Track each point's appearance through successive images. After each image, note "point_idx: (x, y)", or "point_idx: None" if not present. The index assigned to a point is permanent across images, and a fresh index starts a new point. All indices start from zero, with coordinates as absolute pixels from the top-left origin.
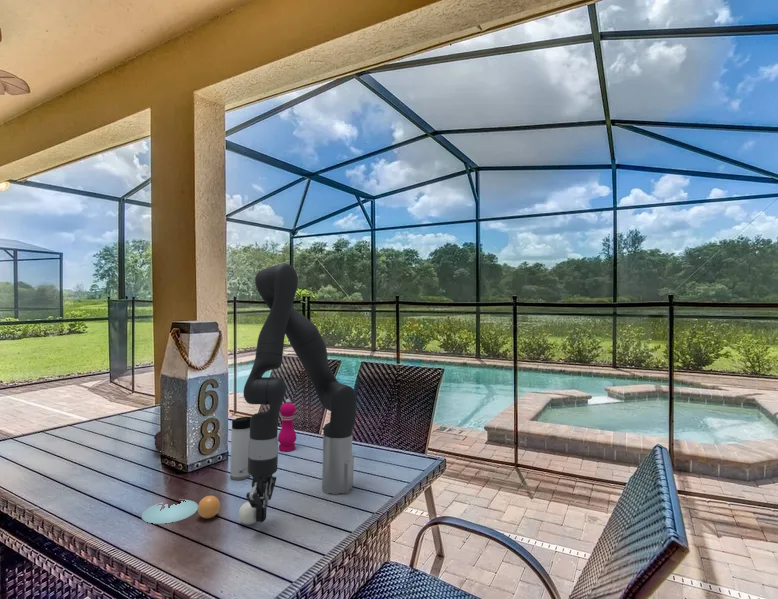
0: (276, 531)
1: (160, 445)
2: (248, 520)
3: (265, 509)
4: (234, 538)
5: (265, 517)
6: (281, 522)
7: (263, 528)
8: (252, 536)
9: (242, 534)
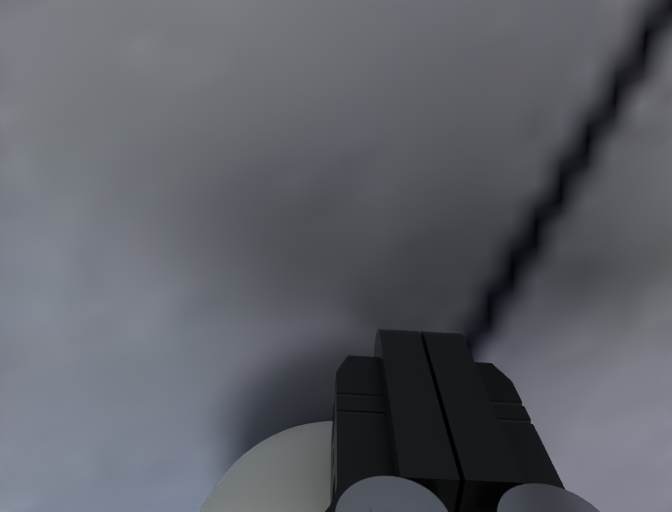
0: (489, 93)
1: None
2: None
3: (439, 435)
4: (645, 478)
5: (414, 345)
6: (231, 114)
7: (424, 287)
8: (613, 336)
9: (567, 442)
